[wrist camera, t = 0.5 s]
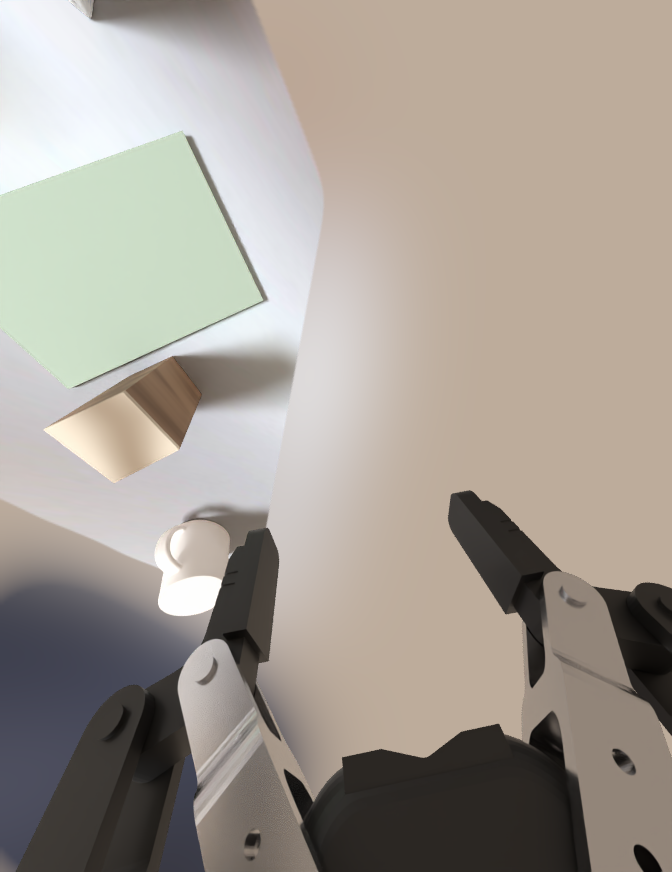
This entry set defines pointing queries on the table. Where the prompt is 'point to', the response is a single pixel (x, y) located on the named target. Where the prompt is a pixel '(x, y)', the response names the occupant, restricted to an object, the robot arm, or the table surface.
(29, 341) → the felt mat
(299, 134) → the table surface
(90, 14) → the light bulb box
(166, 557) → the mug
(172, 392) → the light wood block
